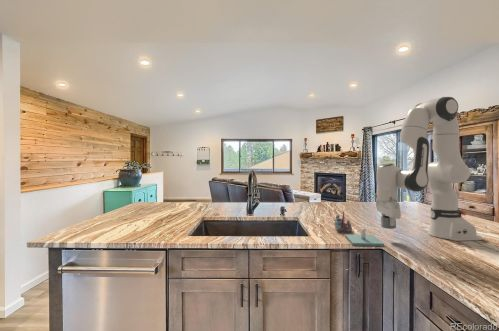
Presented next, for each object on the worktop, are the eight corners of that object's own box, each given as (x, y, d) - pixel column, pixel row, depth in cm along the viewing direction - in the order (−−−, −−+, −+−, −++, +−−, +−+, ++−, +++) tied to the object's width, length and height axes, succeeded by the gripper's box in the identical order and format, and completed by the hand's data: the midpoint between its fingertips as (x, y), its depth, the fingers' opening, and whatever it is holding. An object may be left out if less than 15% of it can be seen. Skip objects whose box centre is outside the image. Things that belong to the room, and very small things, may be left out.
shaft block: (373, 237, 134) (372, 225, 134) (383, 246, 120) (383, 233, 120) (345, 236, 136) (345, 225, 136) (352, 245, 122) (352, 232, 122)
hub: (392, 225, 132) (391, 215, 132) (397, 228, 126) (397, 218, 126) (380, 225, 133) (379, 216, 133) (384, 228, 127) (384, 218, 127)
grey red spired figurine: (357, 229, 141) (343, 211, 143) (340, 240, 143) (326, 222, 145) (355, 224, 152) (341, 208, 154) (339, 234, 154) (326, 218, 156)
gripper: (403, 199, 119) (405, 229, 119) (385, 193, 139) (386, 218, 139) (389, 199, 119) (390, 229, 120) (373, 193, 140) (374, 219, 140)
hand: (388, 223), depth 130 cm, fingers closed on hub, 6 cm apart
